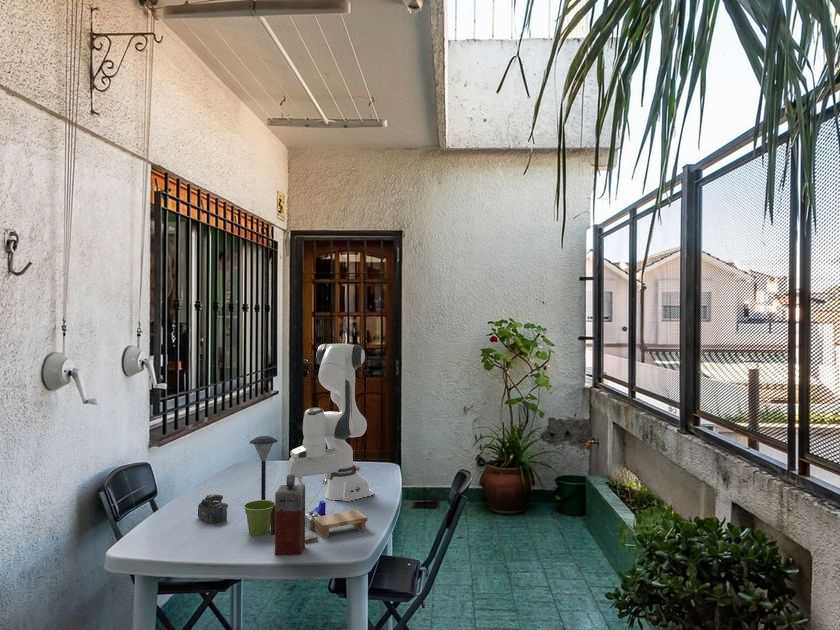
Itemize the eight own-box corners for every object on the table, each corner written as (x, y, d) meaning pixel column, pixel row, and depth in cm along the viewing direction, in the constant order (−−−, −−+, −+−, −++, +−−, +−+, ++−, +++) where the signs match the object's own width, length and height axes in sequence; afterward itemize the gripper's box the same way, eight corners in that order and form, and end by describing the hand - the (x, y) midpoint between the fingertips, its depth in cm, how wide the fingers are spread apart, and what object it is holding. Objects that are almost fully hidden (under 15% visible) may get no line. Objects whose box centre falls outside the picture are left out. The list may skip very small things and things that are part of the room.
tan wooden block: (313, 542, 213) (313, 534, 213) (317, 544, 211) (318, 536, 211) (301, 545, 210) (301, 537, 210) (305, 548, 208) (305, 539, 208)
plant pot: (258, 542, 212) (258, 511, 212) (236, 536, 218) (236, 506, 218) (282, 532, 222) (282, 503, 222) (260, 526, 228) (260, 497, 228)
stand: (356, 524, 231) (356, 509, 231) (367, 533, 222) (367, 517, 222) (313, 533, 222) (313, 517, 222) (322, 542, 213) (322, 525, 213)
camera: (234, 518, 238) (234, 493, 238) (218, 526, 229) (218, 500, 229) (207, 514, 242) (207, 490, 242) (190, 522, 233) (190, 497, 233)
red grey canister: (272, 550, 205) (273, 471, 205) (305, 550, 205) (305, 471, 205) (267, 561, 196) (268, 478, 196) (301, 560, 196) (301, 478, 197)
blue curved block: (321, 513, 244) (321, 499, 244) (325, 517, 240) (325, 502, 240) (293, 518, 238) (293, 503, 238) (296, 521, 234) (297, 506, 234)
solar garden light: (270, 512, 245) (270, 441, 245) (243, 510, 247) (243, 439, 247) (282, 503, 257) (283, 435, 257) (256, 501, 259) (257, 434, 259)
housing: (315, 524, 232) (316, 509, 232) (322, 530, 225) (322, 515, 225) (303, 526, 229) (303, 511, 229) (309, 533, 222) (310, 517, 222)
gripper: (335, 446, 235) (335, 480, 235) (286, 451, 225) (286, 487, 224) (342, 449, 230) (341, 484, 229) (291, 454, 219) (291, 491, 219)
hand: (313, 486), depth 227 cm, fingers open, 8 cm apart
